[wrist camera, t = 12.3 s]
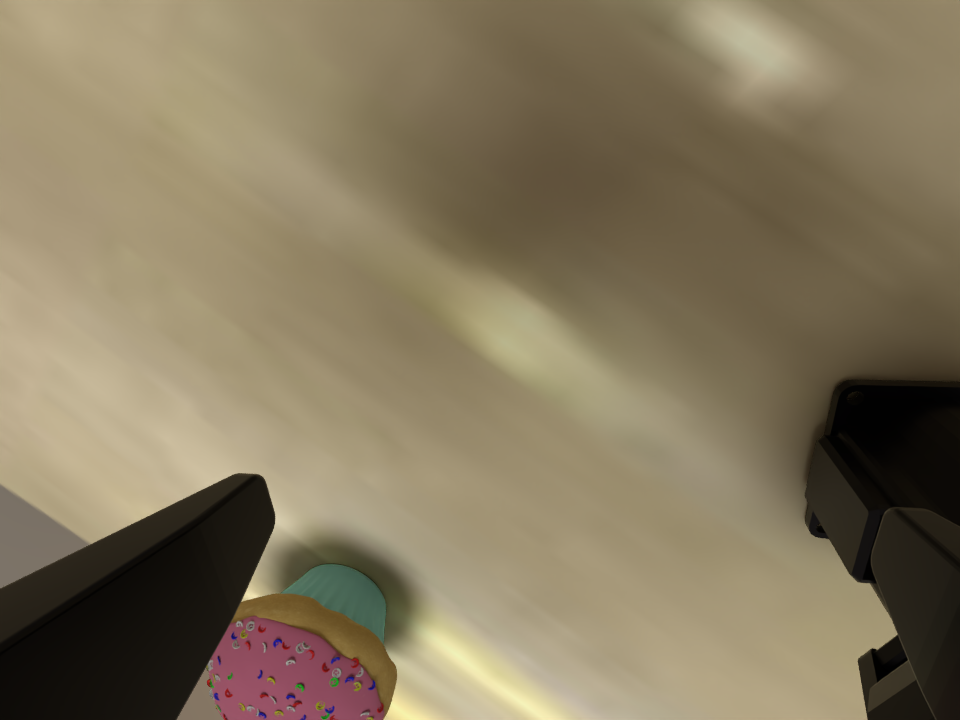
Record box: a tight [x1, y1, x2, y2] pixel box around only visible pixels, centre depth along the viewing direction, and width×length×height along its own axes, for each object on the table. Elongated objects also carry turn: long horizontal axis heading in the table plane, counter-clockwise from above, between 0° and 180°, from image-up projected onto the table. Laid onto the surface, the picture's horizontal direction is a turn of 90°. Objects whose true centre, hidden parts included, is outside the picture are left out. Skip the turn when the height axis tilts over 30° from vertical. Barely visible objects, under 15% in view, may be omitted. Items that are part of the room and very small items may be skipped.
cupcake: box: [206, 564, 397, 720], centre depth 22 cm, size 9×8×12 cm
